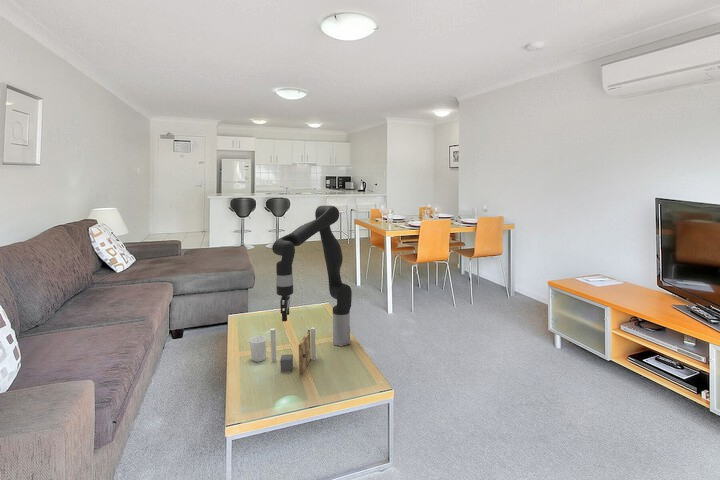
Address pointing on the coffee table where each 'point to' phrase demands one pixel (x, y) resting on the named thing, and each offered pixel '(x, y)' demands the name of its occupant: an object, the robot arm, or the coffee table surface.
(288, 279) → the robot arm
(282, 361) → the grey cube-like block
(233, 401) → the coffee table surface
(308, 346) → the door
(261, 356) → the white cup
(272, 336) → the door frame
